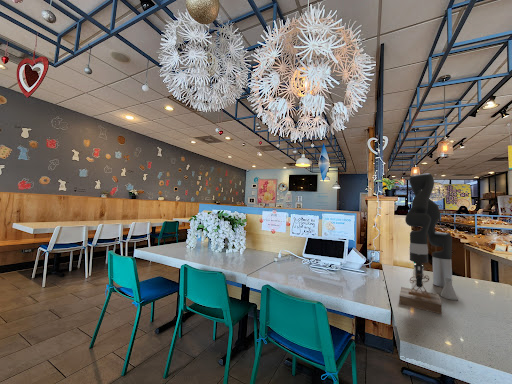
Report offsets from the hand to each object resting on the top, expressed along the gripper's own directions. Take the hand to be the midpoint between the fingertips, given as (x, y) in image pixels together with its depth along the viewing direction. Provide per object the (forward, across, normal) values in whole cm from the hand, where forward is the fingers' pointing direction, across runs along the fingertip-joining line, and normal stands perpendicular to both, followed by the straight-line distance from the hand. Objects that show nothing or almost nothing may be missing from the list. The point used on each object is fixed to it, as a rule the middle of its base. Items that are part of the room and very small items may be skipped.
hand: (419, 284), depth 110 cm
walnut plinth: (+9, 0, 0) cm, 9 cm away
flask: (+9, -20, +13) cm, 26 cm away
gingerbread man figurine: (+5, 0, 0) cm, 5 cm away
